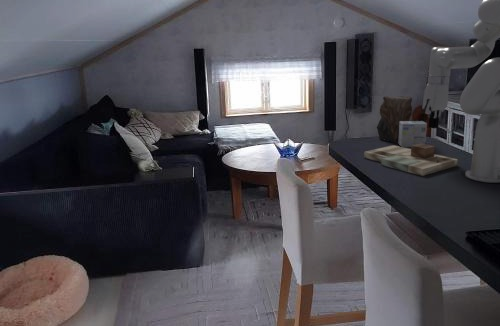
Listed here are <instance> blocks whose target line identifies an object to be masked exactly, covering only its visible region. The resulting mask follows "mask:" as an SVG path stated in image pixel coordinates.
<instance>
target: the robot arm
mask: <svg viewBox="0 0 500 326" xmlns="http://www.w3.org/2000/svg"><path fill="white" fill-rule="evenodd" d="M477 16H478V19H479V20H478V21H477V22H475V24H474V26H473V28H472V32H473V35H474V37H475V39H477V40H476V41H475V42H474V43H473V44H472V45H471V46H455V47H454V46H453V47H451V46H450V47H449V46H436V47H435V46H434V47H432V48H431V50H430V57H429V67H428V74H427V75H428V77H427V84H426V87H425V88H424V92H423V93H424V94H423V98H422V99H423V100H422V106H421V108H422V110H425V112H424V114H426V115H428V124H427V127H428V128H430V129H438V128H439V121H440V117H441V114H442V113H443V112H444V111H445V109H447V107H448V103H449V89H450V88H449V85H450V78H451V70H452V69H455V70H456V69H471V68H474V67H476V66H477V65H479V64H481V63H482V65H481V66H480V67H479V68H478V69H477V71H476V72H475V73H474V75H473V76H472V77H471V79H470V81H469V82H468V83H467V85H466V86H465V87H464V89H463V90H462V92H461V95H460V98H459V106H460V109H461V110H462V112H464V113H465V114H467V115H471V116H478V115H479V118H478V120H477V122H476V127H475V134H474V140H473V142H474V143H473V149H472V157H471V165H470V169H467V170H466V171H465V175H464V176H465V177H466V178H468V179H470V180H472V181H476V182H482V183H490V184H491V183H492V184H493V183H494V184H498V183H500V57H493V58H491V59H488V60H487V61H485V62H484V63H483V61H484V60H486V59H487V58H489V56H490V55H492V52H493V50H494V48H495V46H496V45H495V44H496V42H497V40H499V38H500V0H482V1H481V2H480V5H479V7H478V10H477Z"/></svg>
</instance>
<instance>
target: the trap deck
mask: <svg viewBox="0 0 500 326" xmlns="http://www.w3.org/2000/svg"><path fill="white" fill-rule="evenodd" d="M363 152H364V153H363V154H364V155H363V158H364V159H368V160H372V161H375V162H379V163H380V164H381V166H384V167H387V168H392V169H395V170H398V171H402V172H406V173H410V174H414V175H418V176H422V177H425V176H427V175H430V174H434V173H437V172H440V171H444V170H447V169H450V168H454V167H457V166H458V161H459V160H458V158H453V157H449V156H446V155H445V156H444V155H441V154H435V153H434V157H430V158H426V159H423V158H418V157H414V156H411V148H409V147H400V146H399V145H393V144H392V145H388V146H384V147H379V148H375V149H371V150H367V151H363Z"/></svg>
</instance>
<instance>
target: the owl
mask: <svg viewBox="0 0 500 326" xmlns="http://www.w3.org/2000/svg"><path fill="white" fill-rule="evenodd" d="M382 98H383V99H382V100H383V102H382V103H381V105H380V107H379V115H380V119H379V120H378V124H377V126H376V129H377V134H378V139H379V138H380V139H379V140H382V139H385V140H384V141H386V140H389V141H393V142H392V143H394V142H397V143H398V137H399V121H410V118H411V116H412V112H413V105H412V102H413V98H412V97H404V96H383V97H382ZM389 141H388V142H389Z"/></svg>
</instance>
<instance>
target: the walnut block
mask: <svg viewBox="0 0 500 326" xmlns="http://www.w3.org/2000/svg"><path fill="white" fill-rule="evenodd" d="M410 149H411V156H414V157H418V158H423V159H426V158H430V157H434V154H435V150H436V146H435V145H432V144H431V145H430V144H426V143H425V144H417V145H412V147H410Z"/></svg>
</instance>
